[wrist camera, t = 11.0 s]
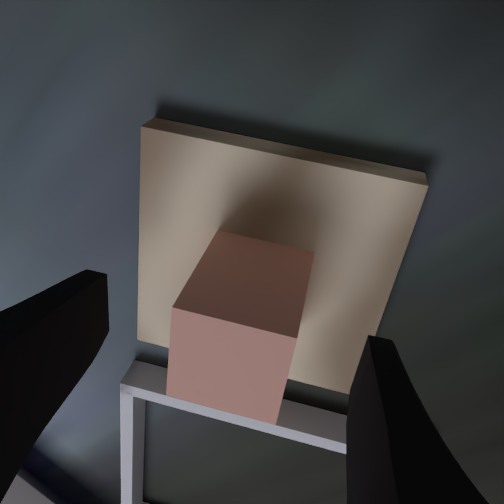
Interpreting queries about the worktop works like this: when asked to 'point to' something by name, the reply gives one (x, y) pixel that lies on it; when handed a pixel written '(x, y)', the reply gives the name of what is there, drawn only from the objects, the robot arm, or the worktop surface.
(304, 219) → the board
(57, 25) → the worktop surface
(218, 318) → the terracotta block
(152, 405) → the worktop surface
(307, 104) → the worktop surface
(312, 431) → the tray
